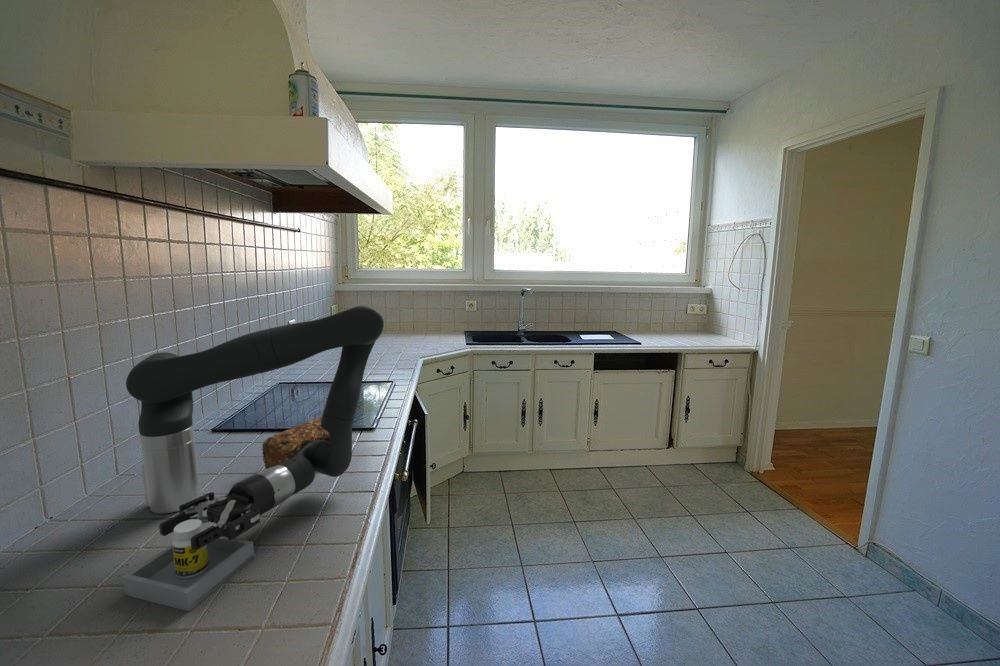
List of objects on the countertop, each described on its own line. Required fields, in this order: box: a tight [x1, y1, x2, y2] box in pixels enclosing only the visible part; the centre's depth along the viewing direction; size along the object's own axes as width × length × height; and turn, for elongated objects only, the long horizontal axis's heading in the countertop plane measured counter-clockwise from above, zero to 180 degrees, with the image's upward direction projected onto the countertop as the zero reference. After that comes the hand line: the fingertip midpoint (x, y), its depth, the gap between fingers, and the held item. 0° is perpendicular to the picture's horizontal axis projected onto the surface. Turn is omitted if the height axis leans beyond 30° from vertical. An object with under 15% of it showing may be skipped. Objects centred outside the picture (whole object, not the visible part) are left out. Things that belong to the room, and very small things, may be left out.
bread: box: [261, 416, 330, 469], centre depth 119 cm, size 19×11×10 cm, turn 147°
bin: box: [121, 537, 255, 612], centre depth 77 cm, size 13×13×3 cm
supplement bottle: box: [171, 519, 209, 579], centre depth 77 cm, size 5×5×8 cm
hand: (176, 537), depth 74 cm, fingers open, 8 cm apart
